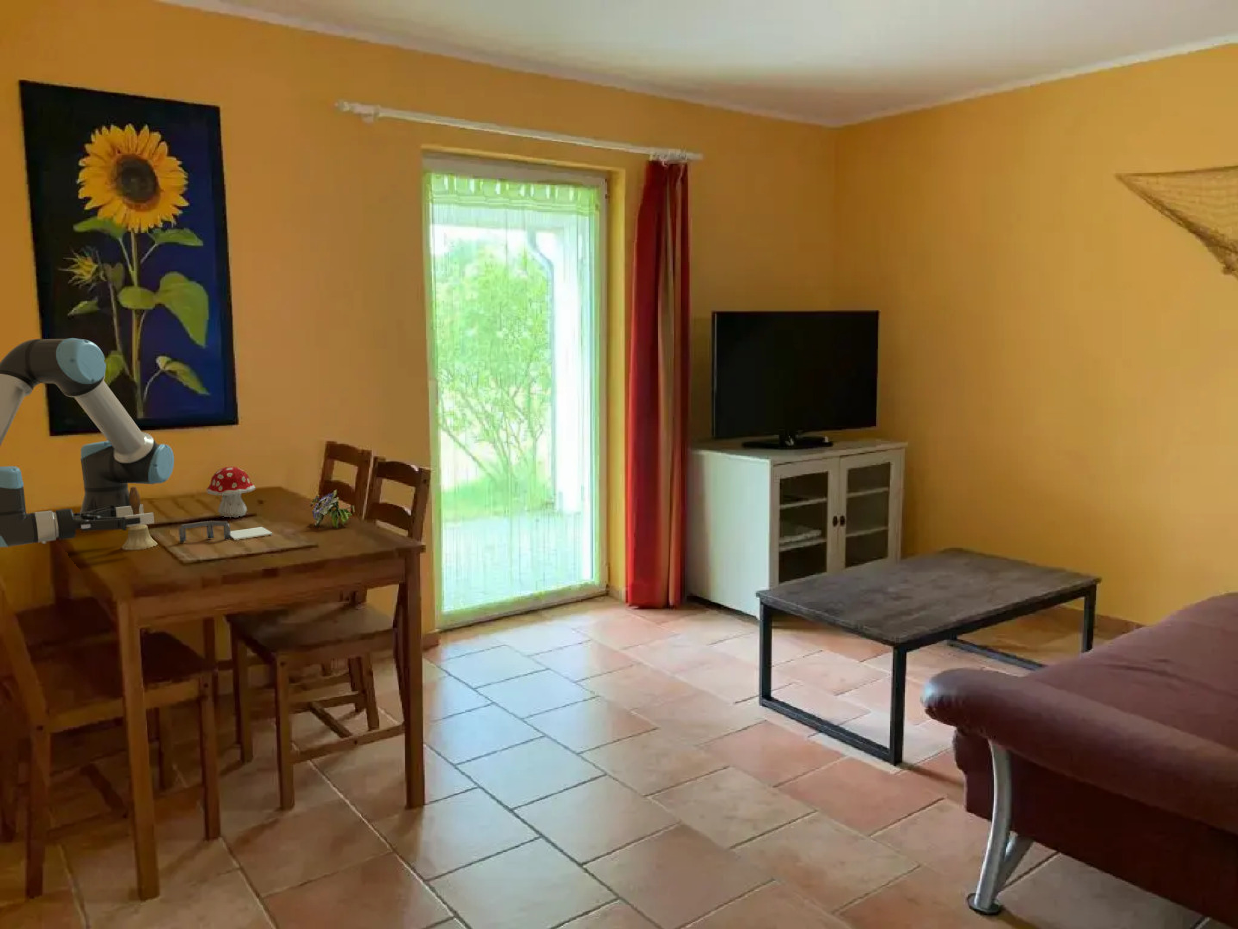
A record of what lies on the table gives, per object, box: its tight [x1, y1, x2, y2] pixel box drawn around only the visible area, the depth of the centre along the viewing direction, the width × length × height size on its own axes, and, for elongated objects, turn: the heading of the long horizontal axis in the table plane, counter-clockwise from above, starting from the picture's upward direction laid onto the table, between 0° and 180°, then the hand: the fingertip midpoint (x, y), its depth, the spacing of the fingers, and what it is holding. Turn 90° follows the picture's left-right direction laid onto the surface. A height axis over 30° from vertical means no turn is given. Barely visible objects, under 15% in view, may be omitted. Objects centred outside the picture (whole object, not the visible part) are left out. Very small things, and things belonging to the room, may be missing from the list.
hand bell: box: [121, 486, 158, 551], centre depth 252 cm, size 8×8×16 cm
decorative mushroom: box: [206, 466, 256, 519], centre depth 288 cm, size 14×14×15 cm
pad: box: [230, 526, 274, 541], centre depth 264 cm, size 10×10×1 cm
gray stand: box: [178, 520, 232, 543], centre depth 258 cm, size 5×12×5 cm, turn 126°
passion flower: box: [310, 489, 355, 529], centre depth 275 cm, size 11×11×12 cm
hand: (148, 513), depth 253 cm, fingers open, 13 cm apart
